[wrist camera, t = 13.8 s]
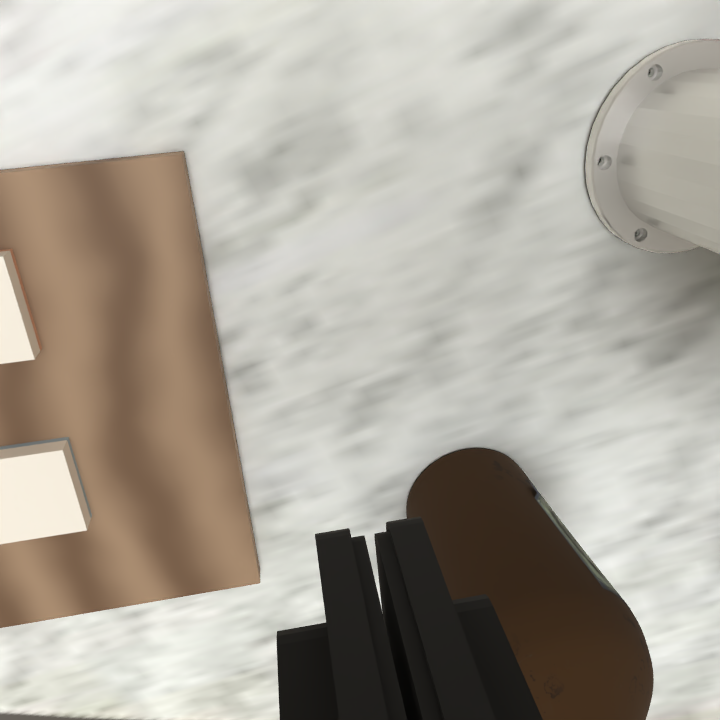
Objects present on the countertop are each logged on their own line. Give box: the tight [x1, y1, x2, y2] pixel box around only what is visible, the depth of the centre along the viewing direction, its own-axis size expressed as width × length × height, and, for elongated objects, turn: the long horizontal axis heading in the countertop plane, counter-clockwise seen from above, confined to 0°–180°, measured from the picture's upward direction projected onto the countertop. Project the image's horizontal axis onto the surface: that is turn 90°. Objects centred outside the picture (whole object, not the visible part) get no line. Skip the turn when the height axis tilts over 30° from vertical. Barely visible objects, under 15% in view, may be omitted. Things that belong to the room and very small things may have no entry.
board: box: [0, 151, 260, 628], centre depth 43 cm, size 24×30×2 cm
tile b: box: [0, 437, 92, 544], centre depth 43 cm, size 2×6×8 cm
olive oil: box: [407, 448, 653, 720], centre depth 40 cm, size 11×11×25 cm
